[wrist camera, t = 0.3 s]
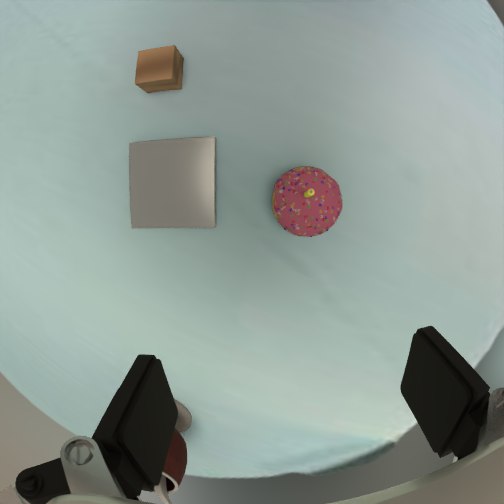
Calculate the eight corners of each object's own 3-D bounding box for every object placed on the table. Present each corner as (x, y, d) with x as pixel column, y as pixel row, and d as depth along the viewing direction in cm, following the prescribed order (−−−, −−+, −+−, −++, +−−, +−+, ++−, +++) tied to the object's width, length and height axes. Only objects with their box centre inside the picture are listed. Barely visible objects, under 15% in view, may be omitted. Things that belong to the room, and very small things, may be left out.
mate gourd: (119, 399, 48) (84, 469, 29) (164, 382, 46) (132, 467, 27) (167, 441, 52) (148, 509, 32) (214, 428, 50) (202, 508, 30)
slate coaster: (132, 143, 35) (129, 143, 34) (216, 138, 35) (214, 136, 34) (135, 226, 38) (131, 228, 37) (215, 226, 38) (214, 227, 37)
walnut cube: (150, 63, 32) (138, 51, 27) (183, 58, 32) (174, 45, 27) (148, 93, 33) (134, 84, 28) (181, 89, 33) (171, 78, 28)
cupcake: (257, 187, 37) (259, 193, 25) (311, 155, 36) (337, 147, 24) (290, 241, 39) (306, 270, 27) (342, 209, 37) (377, 225, 26)
